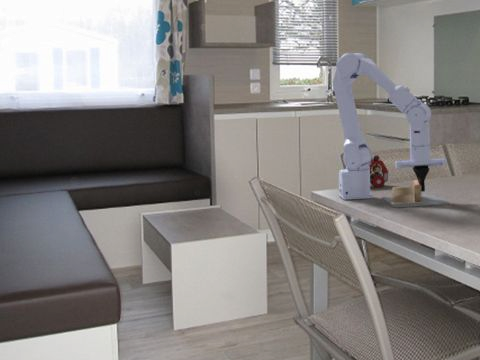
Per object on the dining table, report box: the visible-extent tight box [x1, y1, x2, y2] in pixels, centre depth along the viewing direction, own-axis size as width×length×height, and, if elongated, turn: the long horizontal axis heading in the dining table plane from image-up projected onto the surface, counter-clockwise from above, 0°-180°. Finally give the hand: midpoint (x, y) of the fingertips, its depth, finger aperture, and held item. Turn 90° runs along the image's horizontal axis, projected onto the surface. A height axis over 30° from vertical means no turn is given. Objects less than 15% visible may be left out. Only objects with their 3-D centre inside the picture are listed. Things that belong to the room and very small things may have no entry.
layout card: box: [381, 193, 451, 208], centre depth 209 cm, size 16×14×1 cm
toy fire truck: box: [369, 155, 389, 189], centre depth 237 cm, size 7×12×10 cm, turn 91°
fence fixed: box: [391, 185, 422, 203], centre depth 205 cm, size 8×2×5 cm, turn 93°
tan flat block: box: [412, 179, 419, 187], centre depth 210 cm, size 8×1×4 cm, turn 170°
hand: (421, 191), depth 210 cm, fingers closed, pressing on tan flat block
